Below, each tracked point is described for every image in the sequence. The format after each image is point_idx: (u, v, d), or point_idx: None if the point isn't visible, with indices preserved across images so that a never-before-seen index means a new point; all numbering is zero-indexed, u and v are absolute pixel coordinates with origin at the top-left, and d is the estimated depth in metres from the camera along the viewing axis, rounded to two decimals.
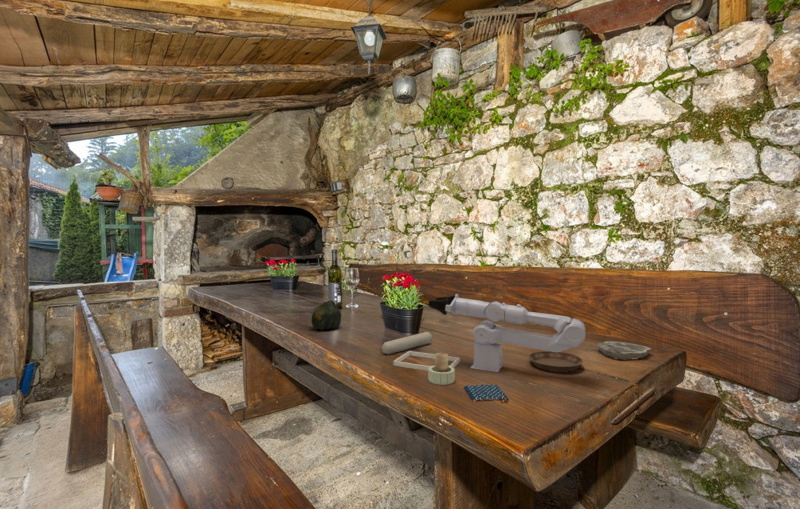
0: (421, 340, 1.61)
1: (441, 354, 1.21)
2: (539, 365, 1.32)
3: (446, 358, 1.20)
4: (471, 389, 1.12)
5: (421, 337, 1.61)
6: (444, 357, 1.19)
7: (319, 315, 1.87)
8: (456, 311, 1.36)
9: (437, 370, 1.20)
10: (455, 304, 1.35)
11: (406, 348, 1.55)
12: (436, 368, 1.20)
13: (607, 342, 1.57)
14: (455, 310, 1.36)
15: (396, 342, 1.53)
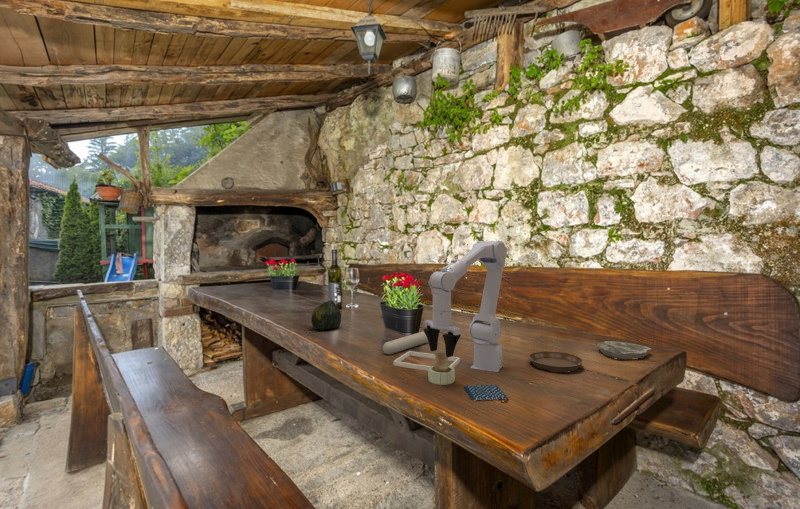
0: (420, 339, 1.62)
1: (441, 354, 1.21)
2: (539, 365, 1.32)
3: (446, 358, 1.20)
4: (471, 389, 1.12)
5: (419, 336, 1.62)
6: (444, 357, 1.19)
7: (319, 315, 1.87)
8: (450, 322, 1.20)
9: (437, 370, 1.20)
10: (445, 325, 1.18)
11: (406, 348, 1.56)
12: (436, 368, 1.20)
13: (607, 342, 1.57)
14: (450, 324, 1.19)
15: (397, 342, 1.53)
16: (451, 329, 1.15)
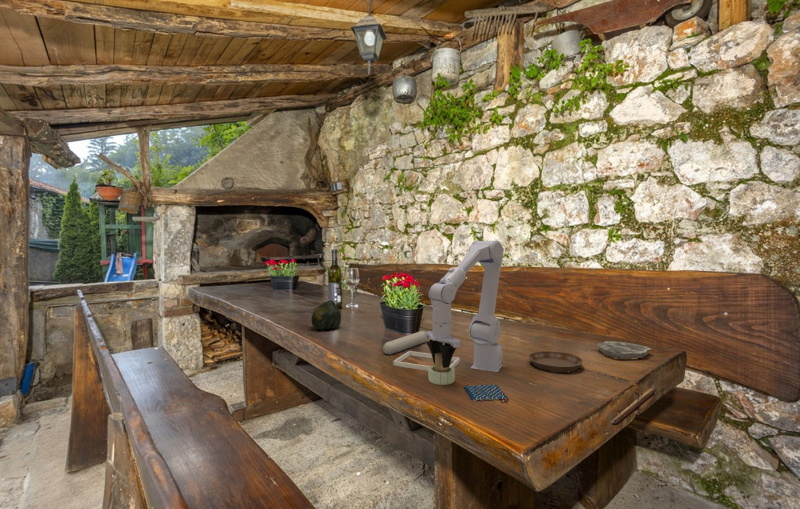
0: (419, 339, 1.62)
1: (441, 354, 1.21)
2: (539, 365, 1.32)
3: None
4: (471, 389, 1.12)
5: (418, 336, 1.63)
6: None
7: (319, 315, 1.87)
8: (450, 334, 1.20)
9: (437, 370, 1.20)
10: (445, 337, 1.18)
11: (406, 348, 1.56)
12: (436, 368, 1.20)
13: (607, 342, 1.57)
14: (450, 336, 1.19)
15: (397, 342, 1.53)
16: (451, 341, 1.15)
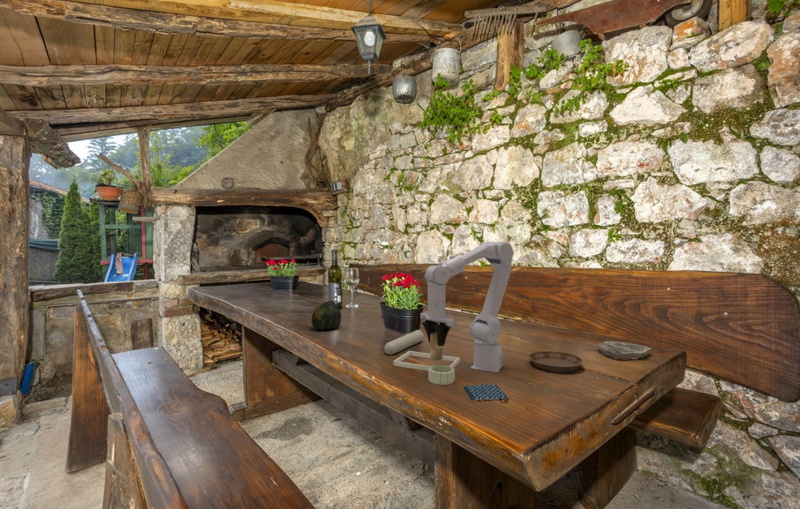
0: (416, 338, 1.63)
1: (436, 334, 1.26)
2: (539, 365, 1.32)
3: None
4: (471, 389, 1.12)
5: (415, 335, 1.64)
6: None
7: (319, 315, 1.87)
8: None
9: (432, 349, 1.25)
10: (440, 317, 1.23)
11: (405, 347, 1.57)
12: (431, 347, 1.25)
13: (607, 342, 1.57)
14: (444, 316, 1.24)
15: (397, 342, 1.53)
16: (446, 320, 1.20)
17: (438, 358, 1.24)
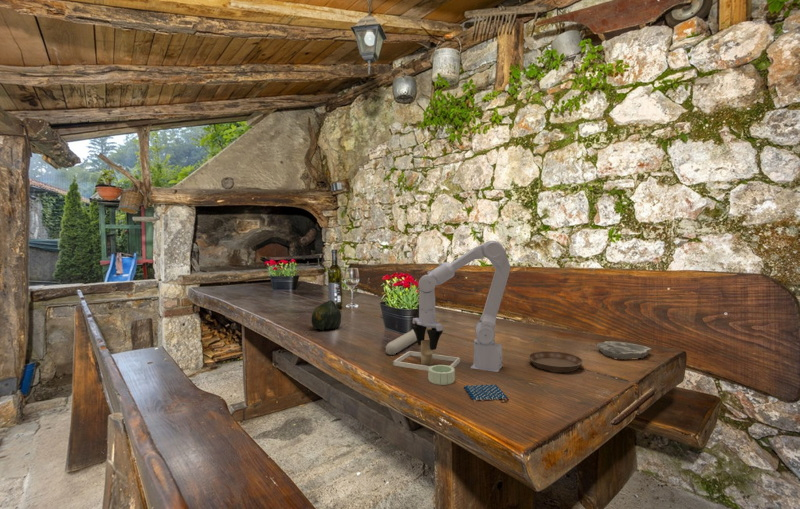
0: (414, 338, 1.64)
1: (426, 341, 1.37)
2: (539, 365, 1.32)
3: None
4: (471, 389, 1.12)
5: (413, 335, 1.65)
6: (429, 343, 1.35)
7: (319, 315, 1.87)
8: (434, 320, 1.36)
9: (423, 355, 1.36)
10: (430, 322, 1.34)
11: (404, 347, 1.57)
12: (422, 353, 1.36)
13: (607, 342, 1.57)
14: (434, 321, 1.35)
15: (398, 342, 1.53)
16: (435, 325, 1.31)
17: (428, 363, 1.35)
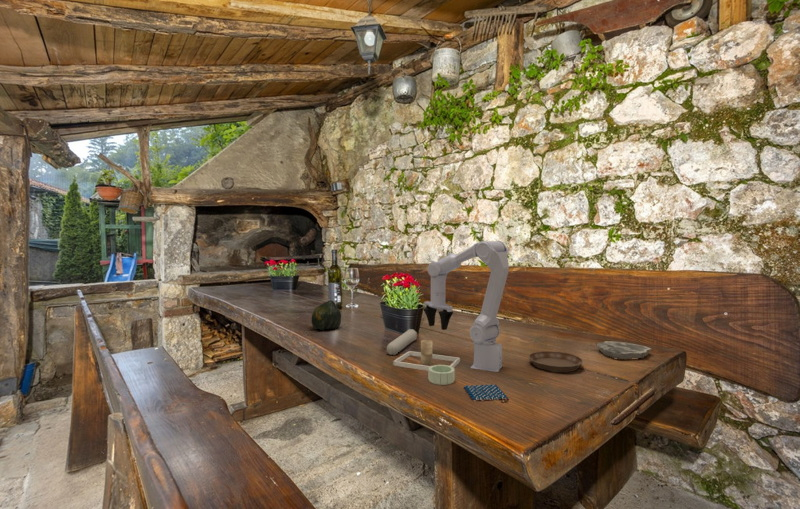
0: (412, 337, 1.65)
1: (426, 341, 1.37)
2: (539, 365, 1.32)
3: (431, 344, 1.35)
4: (471, 389, 1.12)
5: (411, 335, 1.65)
6: (429, 343, 1.35)
7: (319, 315, 1.87)
8: None
9: (423, 355, 1.36)
10: (440, 304, 1.47)
11: (404, 347, 1.57)
12: (422, 353, 1.36)
13: (607, 342, 1.58)
14: (444, 303, 1.48)
15: (398, 342, 1.53)
16: (445, 307, 1.44)
17: (428, 363, 1.35)
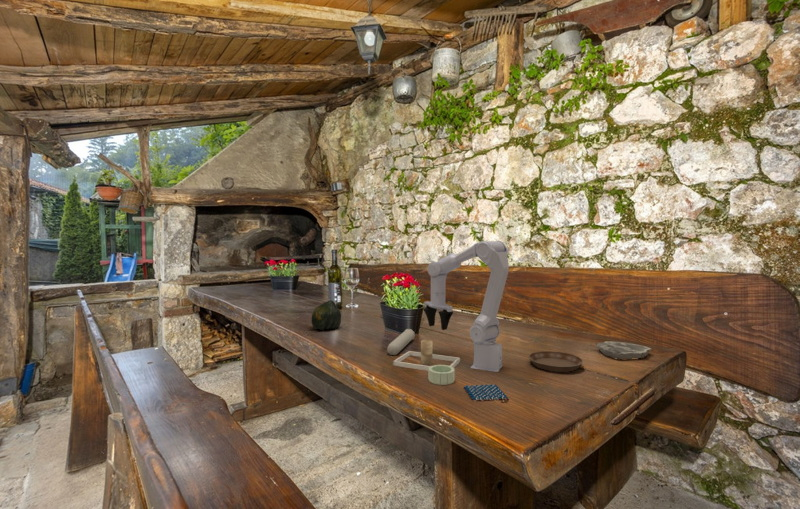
0: (410, 337, 1.65)
1: (426, 341, 1.37)
2: (539, 365, 1.32)
3: (431, 344, 1.35)
4: (471, 389, 1.12)
5: (409, 334, 1.66)
6: (429, 343, 1.35)
7: (319, 315, 1.87)
8: None
9: (423, 355, 1.36)
10: (440, 304, 1.47)
11: (403, 347, 1.58)
12: (422, 353, 1.36)
13: (607, 342, 1.58)
14: (444, 303, 1.48)
15: (399, 342, 1.53)
16: (445, 307, 1.44)
17: (428, 363, 1.35)
